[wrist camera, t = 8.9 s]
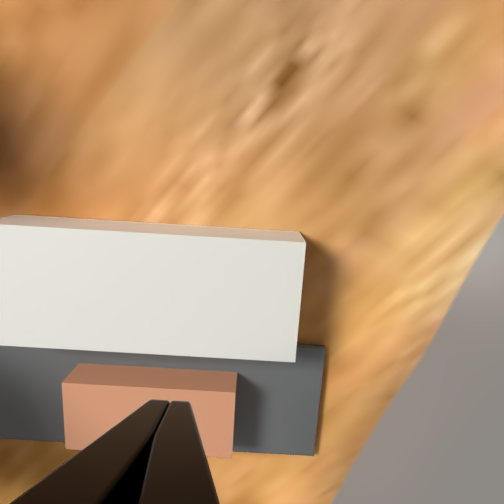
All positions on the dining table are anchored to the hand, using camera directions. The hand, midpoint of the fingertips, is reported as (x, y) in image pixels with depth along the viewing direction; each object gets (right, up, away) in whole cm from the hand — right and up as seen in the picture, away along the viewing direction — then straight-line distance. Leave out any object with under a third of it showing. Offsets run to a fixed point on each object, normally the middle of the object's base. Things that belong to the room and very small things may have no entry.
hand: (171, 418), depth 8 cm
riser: (-3, +2, +13) cm, 14 cm away
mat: (-4, -5, +14) cm, 16 cm away
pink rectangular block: (-4, -5, +12) cm, 14 cm away
